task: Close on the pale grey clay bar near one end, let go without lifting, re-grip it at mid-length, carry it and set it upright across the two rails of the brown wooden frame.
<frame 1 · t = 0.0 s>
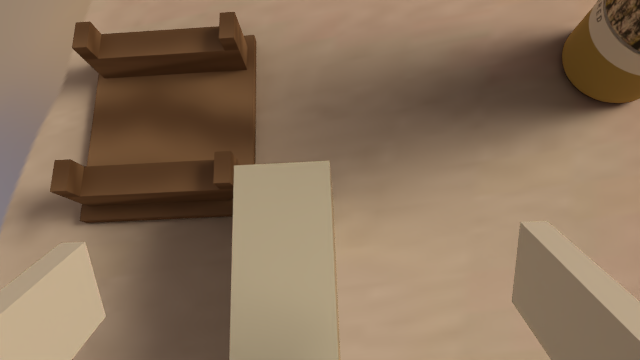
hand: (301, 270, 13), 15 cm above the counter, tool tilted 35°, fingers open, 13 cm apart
paper tube: (603, 67, 31), on the counter
brown wooden frame: (176, 127, 31), on the counter
clay bar: (300, 319, 27), on the counter
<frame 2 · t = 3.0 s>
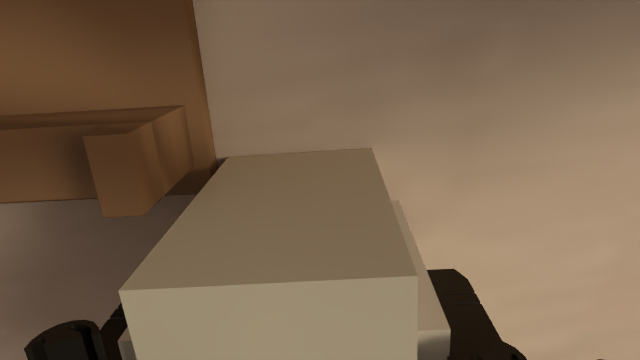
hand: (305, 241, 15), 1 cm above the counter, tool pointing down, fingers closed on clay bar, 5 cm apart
clay bar: (316, 341, 17), on the counter, touching gripper
when the fingers open (1 cm above the counter, at t = 3.6 s): clay bar stays where it is, on the counter.
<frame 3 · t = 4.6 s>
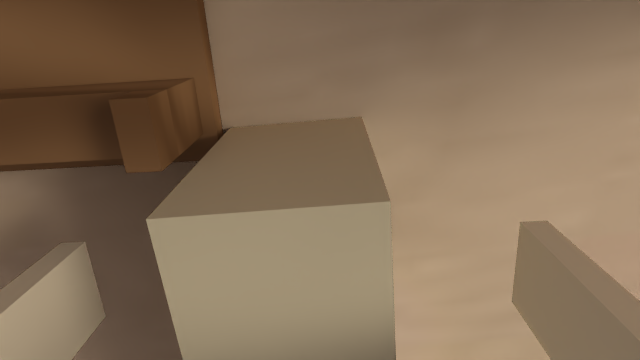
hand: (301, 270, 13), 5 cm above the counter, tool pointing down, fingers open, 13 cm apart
clay bar: (315, 296, 19), on the counter
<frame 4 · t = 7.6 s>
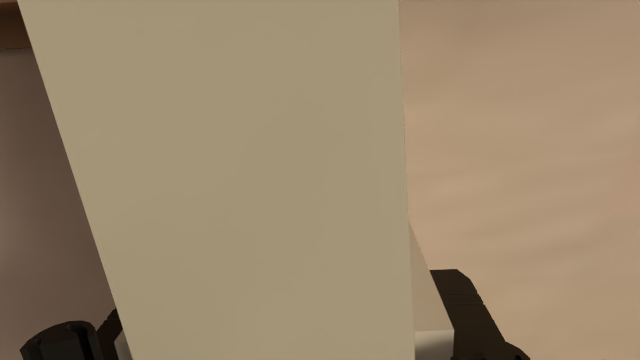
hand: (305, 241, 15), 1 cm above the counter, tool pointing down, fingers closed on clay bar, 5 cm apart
clay bar: (306, 229, 15), on the counter, touching gripper
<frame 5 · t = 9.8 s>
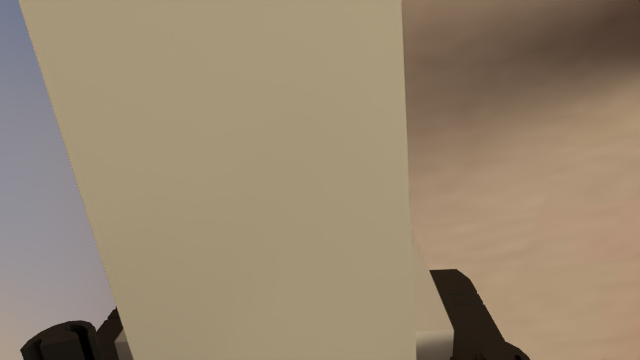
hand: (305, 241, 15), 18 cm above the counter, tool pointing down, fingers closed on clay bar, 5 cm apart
clay bar: (307, 229, 15), point 17 cm above the counter, touching gripper
when the fingers open (6 cm above the counter, at t = 12.4 s): clay bar drops 2 cm, resting on brown wooden frame.
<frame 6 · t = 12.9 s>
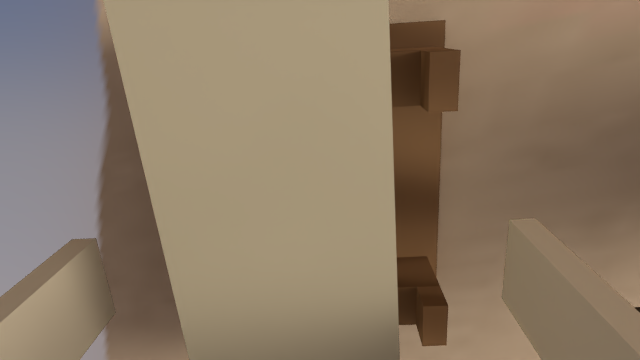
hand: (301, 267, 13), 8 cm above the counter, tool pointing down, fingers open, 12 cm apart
brown wooden frame: (312, 180, 21), on the counter
clay bar: (308, 208, 17), point 3 cm above the counter, touching brown wooden frame
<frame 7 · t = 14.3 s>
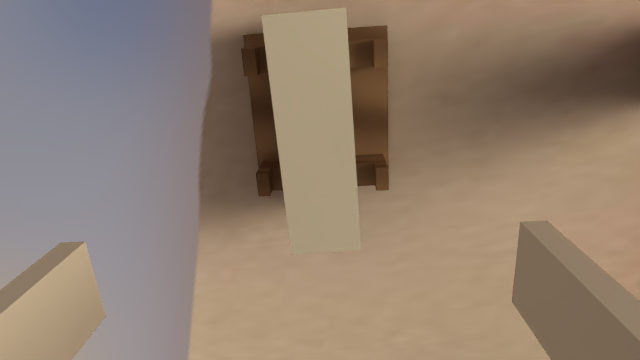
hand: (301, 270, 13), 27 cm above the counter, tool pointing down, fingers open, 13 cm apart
brown wooden frame: (320, 112, 38), on the counter
clay bar: (318, 119, 35), point 3 cm above the counter, touching brown wooden frame
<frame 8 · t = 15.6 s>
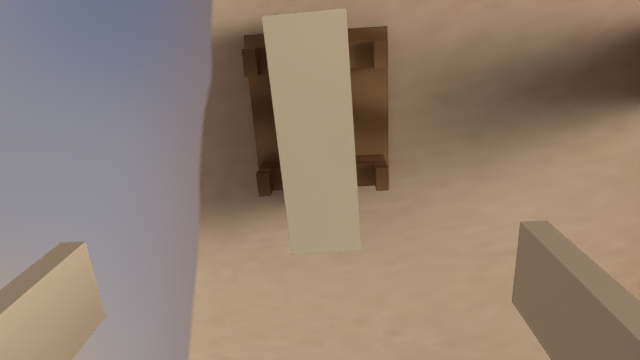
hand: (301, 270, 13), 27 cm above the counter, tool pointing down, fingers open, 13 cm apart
brown wooden frame: (320, 112, 38), on the counter
clay bar: (319, 119, 35), point 3 cm above the counter, touching brown wooden frame
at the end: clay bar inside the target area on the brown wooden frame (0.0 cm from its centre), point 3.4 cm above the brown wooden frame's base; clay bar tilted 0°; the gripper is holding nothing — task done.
